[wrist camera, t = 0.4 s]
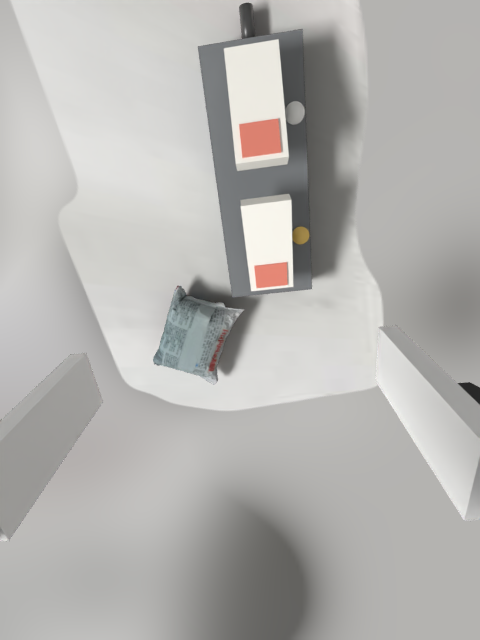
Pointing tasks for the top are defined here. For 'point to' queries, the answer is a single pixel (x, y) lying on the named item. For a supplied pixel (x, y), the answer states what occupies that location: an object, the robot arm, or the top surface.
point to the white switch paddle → (268, 241)
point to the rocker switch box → (268, 178)
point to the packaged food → (195, 335)
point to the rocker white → (257, 105)
